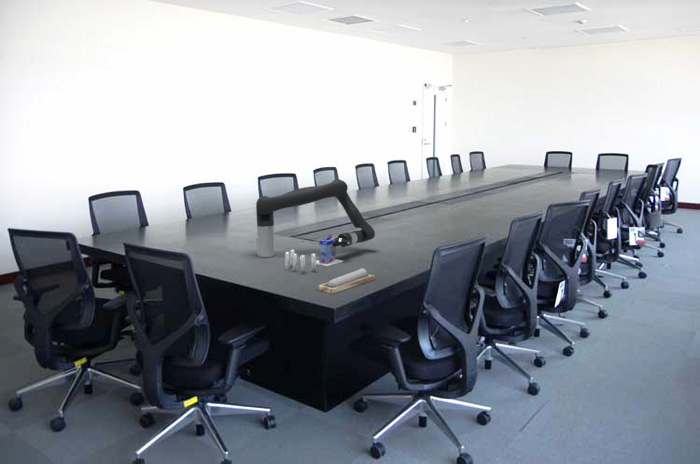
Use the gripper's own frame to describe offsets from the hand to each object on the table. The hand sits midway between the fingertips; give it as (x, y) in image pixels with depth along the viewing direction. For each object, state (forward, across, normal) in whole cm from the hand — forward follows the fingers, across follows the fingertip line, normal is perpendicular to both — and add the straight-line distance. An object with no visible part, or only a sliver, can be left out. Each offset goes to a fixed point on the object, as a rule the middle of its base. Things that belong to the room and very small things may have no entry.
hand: (327, 243), depth 291 cm
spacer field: (+21, 0, +10) cm, 24 cm away
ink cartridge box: (+1, 0, +10) cm, 10 cm away
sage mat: (+1, 0, +10) cm, 10 cm away
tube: (+25, +35, +10) cm, 44 cm away
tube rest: (+26, +35, +10) cm, 45 cm away
